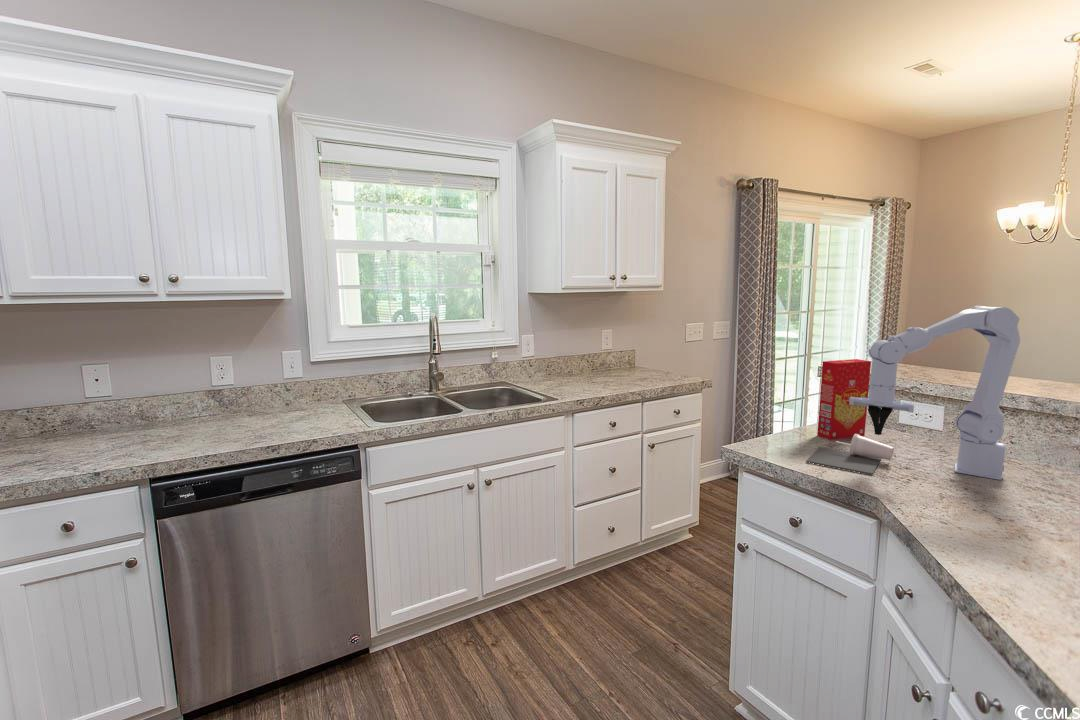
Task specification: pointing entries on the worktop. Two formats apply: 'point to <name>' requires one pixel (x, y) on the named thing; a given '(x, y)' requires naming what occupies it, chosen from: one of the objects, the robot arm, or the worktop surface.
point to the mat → (844, 460)
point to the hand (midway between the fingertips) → (878, 433)
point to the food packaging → (843, 398)
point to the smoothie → (869, 448)
